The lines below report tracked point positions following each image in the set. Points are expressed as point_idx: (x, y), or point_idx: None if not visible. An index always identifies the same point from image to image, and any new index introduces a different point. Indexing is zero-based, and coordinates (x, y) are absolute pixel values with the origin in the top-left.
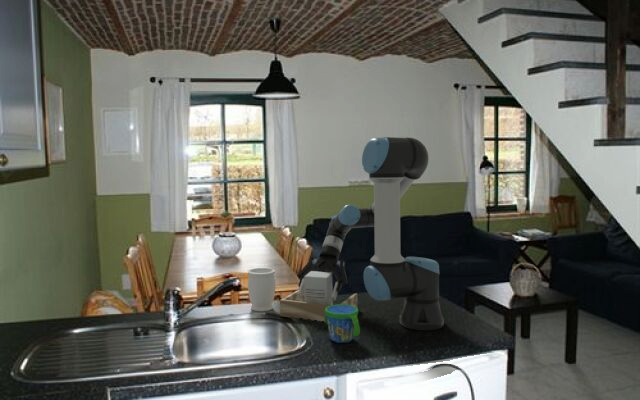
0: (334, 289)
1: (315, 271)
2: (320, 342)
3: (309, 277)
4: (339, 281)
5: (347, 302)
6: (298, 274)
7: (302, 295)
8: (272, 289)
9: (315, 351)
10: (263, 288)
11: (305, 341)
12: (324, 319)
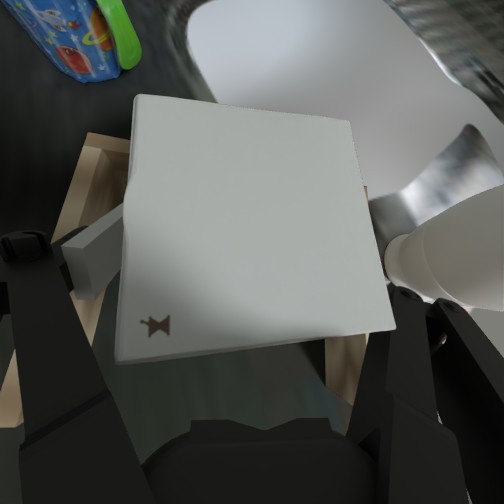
0: (114, 215)
1: (342, 319)
2: (149, 45)
3: (304, 121)
4: (37, 241)
5: (59, 231)
6: (456, 306)
7: (347, 379)
8: (450, 232)
9: (148, 3)
10: (475, 195)
11: (189, 50)
12: (139, 43)
